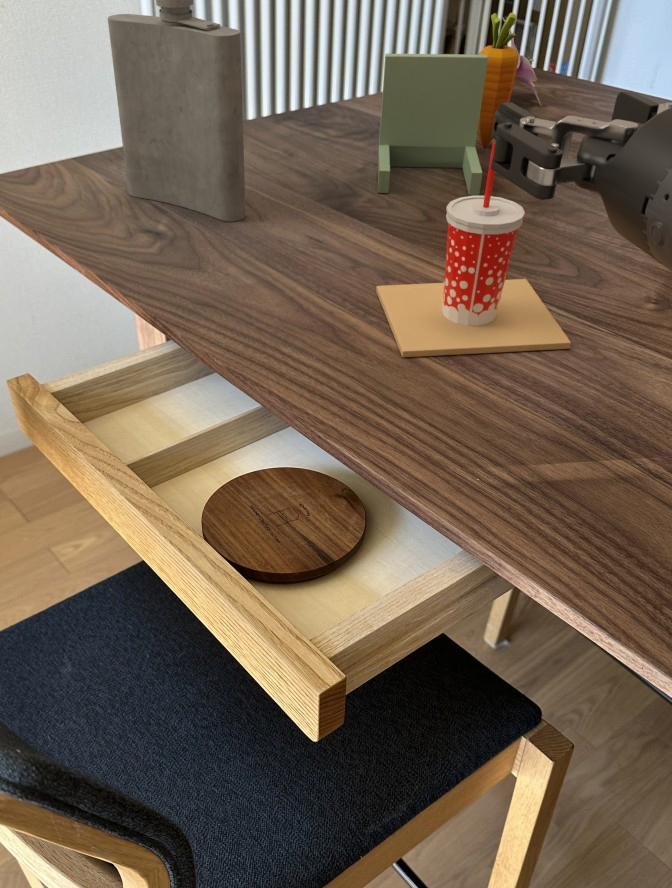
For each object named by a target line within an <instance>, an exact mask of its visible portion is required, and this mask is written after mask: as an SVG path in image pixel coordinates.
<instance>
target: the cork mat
mask: <svg viewBox="0 0 672 888" xmlns="http://www.w3.org/2000/svg"><path fill="white" fill-rule="evenodd" d="M375 292H376V294H377V297H378V299H379V302H380V305H381V307H382V309H383V312H384V315H385V318H386V320H387V322H388V325H389V327H390V330H391V332H392V336H393V337H394V340H395V342H396V345H397V348H398V350H399V353H400V355H401V357H402V358H417V357H436V356H455V355H458V356H459V355H475V354H476V355H477V354H496V353H513V352H532V351H533V352H535V351H553V350H554V351H555V350H569V349H570V348H571V344H572V342H571V340H570V339H569V338H568V336H567V334H566V333H565V332H564V331H563V329H562V328H561V326H560V325H559V324H558V322H557V320H556V319H555V317H554V316H553V315H552V313H551V312H550V310H549V309H548V307H547V306H546V305H545V304H544V302H543V301H542V299H541V298H540V297H539V295H538V293H537V292H536V291H535V289H534V288H533V287H532V285H531V283H530V282H529V281H528V279H527V278H516V279H505V282H504V286H503V290H502V294H501V298H500V302H499V306H498V310H497V314H496V317H495V319H494V320H493V321H492V322H490V323H488V324H484V325H479V326H467V325H462V324H457V323H455V322H452V321H450V320H448V319H447V318H446V317H445V316H444V315H443V311H442V307H443V293H444V282H431V283H410V284H388V285H387V284H386V285H377V286H376V289H375Z"/></svg>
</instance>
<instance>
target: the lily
mask: <svg viewBox="0 0 672 888" xmlns="http://www.w3.org/2000/svg"><path fill="white" fill-rule="evenodd" d="M501 17H502V18H501V19H502V20H503V22H504V23H505V21H506V19H505V18H504V17H503V16H501ZM508 33H509V34H510V33H513V32H512V29H510V30H509V32H508ZM510 42H511V43H510V44H511V45H510V47H512V48H514V49H515V50H516V51H517V52H518V55H519V59H518V65H517V71H516V76H515V80H518V81H521V82H523V83H524V84H526V85H527V86H528V87H529V88H530V89H531V90H532V92H533V94H534V96H535V98H536V100H537V101H538V103H539V106H542V104H541V102H540V98H539V96H538V89H537V87H536V85H534V83H535V82H537V81H538V77H537V75H536V73H535V70H534V68H533V67H532V64H533V63H532V62H534V61H535V59H534V58H532V57H531V58H530V56H528V58H527V57H526V56H524V55H520V53H519V50H518V48H517V46H516V43H515V40H514V37H513V38H512V39H511V40H510Z"/></svg>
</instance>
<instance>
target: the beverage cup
mask: <svg viewBox="0 0 672 888" xmlns="http://www.w3.org/2000/svg"><path fill="white" fill-rule="evenodd" d="M495 142H496V141H493V142H492V146H491V152H490V158H489V165H488V171H487V178H486V185H485V189H484V190H485V191H484V195H468V196H467V195H466V196H461V197H458V198H456V199H453V200H450V201H449V202H448V204H447V205H446V207H445V208H446V209H445V211H446V215H445V218H446V222H447V236H446V237H447V238H446V251H445V266H444V279H443V280H444V281H443V283H444V293H443V307H442V311H443V315H444V316H445V317H446V318H447V319H448V320H450V321H452V322H455V323H457V324H462V325H467V326H479V325H484V324H488V323H490V322H492V321H493V320H494V319H495V317H496V314H497V310H498V306H499V302H500V298H501V294H502V290H503V286H504V282H505V280H506V278H507V274H508V269H509V266H510V262H511V260H512V259H511V258H512V254H513V250H514V246H515V243H516V238H517V235H518V231H519V229H520V228H521V226H522V225H523V223H524V222H523V221H524V218H525V215H526V212H525V209H524V208H523V206H521V204H519V203H517V202H515V201H514V200H510V199H507V198H504V197H500V196H492V190H493V185H494V177H495V173H496V172H495V171H494V170H492V169H491V164H492V159H493V155H494V149H495Z"/></svg>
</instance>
